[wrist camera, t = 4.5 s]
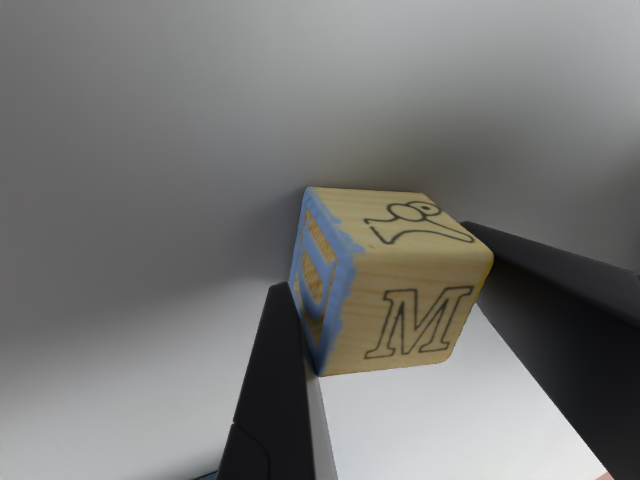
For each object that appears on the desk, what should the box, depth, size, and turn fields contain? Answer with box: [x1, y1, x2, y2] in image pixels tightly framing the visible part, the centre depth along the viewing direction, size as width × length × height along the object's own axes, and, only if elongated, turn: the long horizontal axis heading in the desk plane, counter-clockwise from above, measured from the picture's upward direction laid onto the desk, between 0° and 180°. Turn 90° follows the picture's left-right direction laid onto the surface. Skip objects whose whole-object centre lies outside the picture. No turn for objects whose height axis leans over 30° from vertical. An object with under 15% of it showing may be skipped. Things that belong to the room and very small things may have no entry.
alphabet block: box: [288, 186, 494, 377], centre depth 9 cm, size 3×3×3 cm
